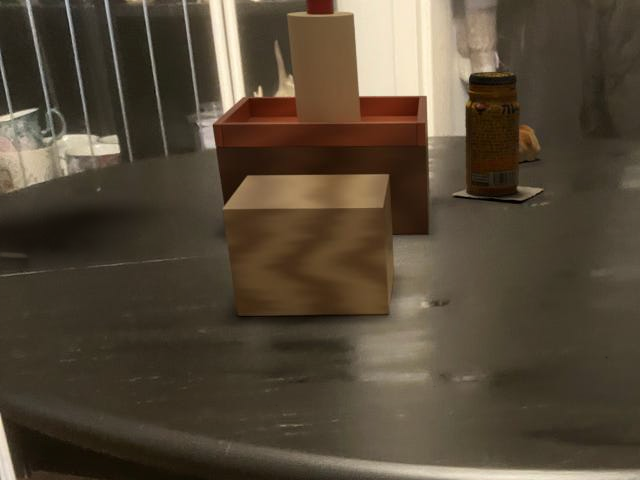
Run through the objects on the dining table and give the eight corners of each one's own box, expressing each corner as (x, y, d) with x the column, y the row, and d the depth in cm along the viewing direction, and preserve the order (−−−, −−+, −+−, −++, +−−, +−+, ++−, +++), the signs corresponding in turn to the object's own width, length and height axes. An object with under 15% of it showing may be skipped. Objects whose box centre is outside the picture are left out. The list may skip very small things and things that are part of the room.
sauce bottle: (295, 134, 97) (279, -23, 90) (302, 124, 103) (287, -26, 95) (359, 134, 98) (348, -23, 90) (363, 123, 103) (353, -26, 95)
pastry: (491, 168, 124) (491, 135, 122) (457, 161, 128) (456, 129, 126) (544, 159, 129) (545, 127, 127) (509, 152, 133) (510, 121, 131)
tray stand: (228, 236, 97) (212, 124, 91) (255, 195, 112) (242, 96, 106) (428, 233, 98) (425, 122, 92) (429, 194, 112) (426, 95, 107)
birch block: (237, 316, 77) (221, 208, 73) (259, 272, 87) (247, 175, 82) (389, 314, 78) (383, 207, 73) (394, 271, 87) (389, 174, 83)
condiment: (478, 184, 117) (477, 68, 110) (544, 190, 114) (548, 72, 107) (451, 196, 111) (449, 76, 104) (520, 203, 108) (523, 80, 101)
